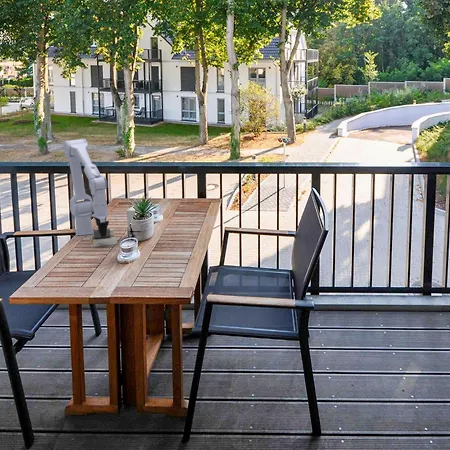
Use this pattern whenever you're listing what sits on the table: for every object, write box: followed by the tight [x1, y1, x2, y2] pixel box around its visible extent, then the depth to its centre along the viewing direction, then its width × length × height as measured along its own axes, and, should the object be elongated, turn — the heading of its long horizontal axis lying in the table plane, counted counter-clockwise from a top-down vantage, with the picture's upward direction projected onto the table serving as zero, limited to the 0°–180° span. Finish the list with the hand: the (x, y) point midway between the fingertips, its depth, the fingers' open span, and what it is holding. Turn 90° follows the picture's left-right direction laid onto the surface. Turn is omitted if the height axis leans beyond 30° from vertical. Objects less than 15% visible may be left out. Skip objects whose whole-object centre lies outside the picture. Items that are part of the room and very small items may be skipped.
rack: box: [88, 229, 118, 248], centre depth 288 cm, size 13×11×3 cm
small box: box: [126, 205, 135, 228], centre depth 303 cm, size 8×6×10 cm
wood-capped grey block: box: [93, 228, 111, 239], centre depth 285 cm, size 3×7×5 cm, turn 106°
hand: (102, 234), depth 285 cm, fingers open, 7 cm apart
